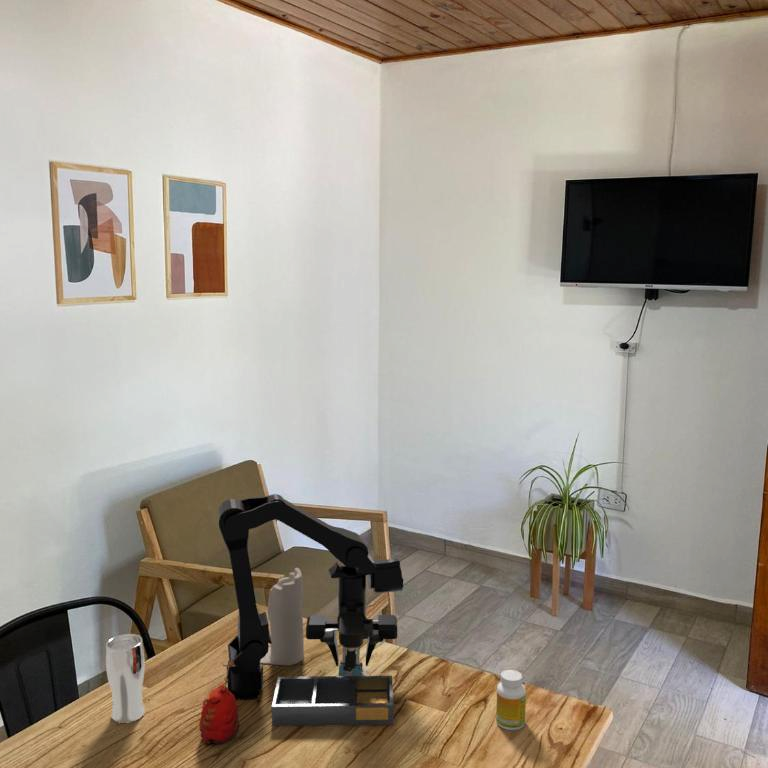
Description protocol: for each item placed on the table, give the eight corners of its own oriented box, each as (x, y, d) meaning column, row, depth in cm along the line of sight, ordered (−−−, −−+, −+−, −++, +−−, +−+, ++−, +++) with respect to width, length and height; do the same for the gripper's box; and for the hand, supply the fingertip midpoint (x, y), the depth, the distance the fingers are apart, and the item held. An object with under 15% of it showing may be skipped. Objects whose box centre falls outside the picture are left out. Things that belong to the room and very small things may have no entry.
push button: (371, 671, 166) (372, 627, 165) (367, 684, 161) (368, 639, 160) (340, 668, 167) (341, 624, 166) (335, 681, 162) (336, 636, 161)
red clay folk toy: (206, 723, 148) (203, 649, 146) (243, 724, 148) (241, 649, 145) (196, 748, 140) (192, 670, 138) (235, 748, 140) (232, 671, 138)
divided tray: (271, 727, 147) (271, 707, 146) (278, 695, 157) (278, 676, 157) (393, 725, 147) (393, 706, 146) (391, 694, 158) (392, 675, 157)
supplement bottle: (524, 732, 145) (526, 684, 143) (495, 729, 146) (496, 681, 144) (525, 716, 150) (526, 669, 149) (496, 713, 151) (497, 666, 150)
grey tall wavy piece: (247, 646, 177) (244, 562, 174) (307, 650, 175) (305, 565, 172) (237, 662, 170) (234, 575, 167) (299, 666, 168) (297, 578, 165)
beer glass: (154, 709, 152) (151, 637, 150) (129, 729, 146) (125, 654, 144) (127, 701, 155) (123, 630, 153) (101, 720, 149) (96, 646, 147)
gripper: (303, 612, 153) (304, 686, 156) (398, 612, 154) (398, 685, 156) (307, 588, 164) (308, 657, 167) (396, 588, 165) (396, 657, 167)
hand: (352, 665), depth 164 cm, fingers open, 6 cm apart
